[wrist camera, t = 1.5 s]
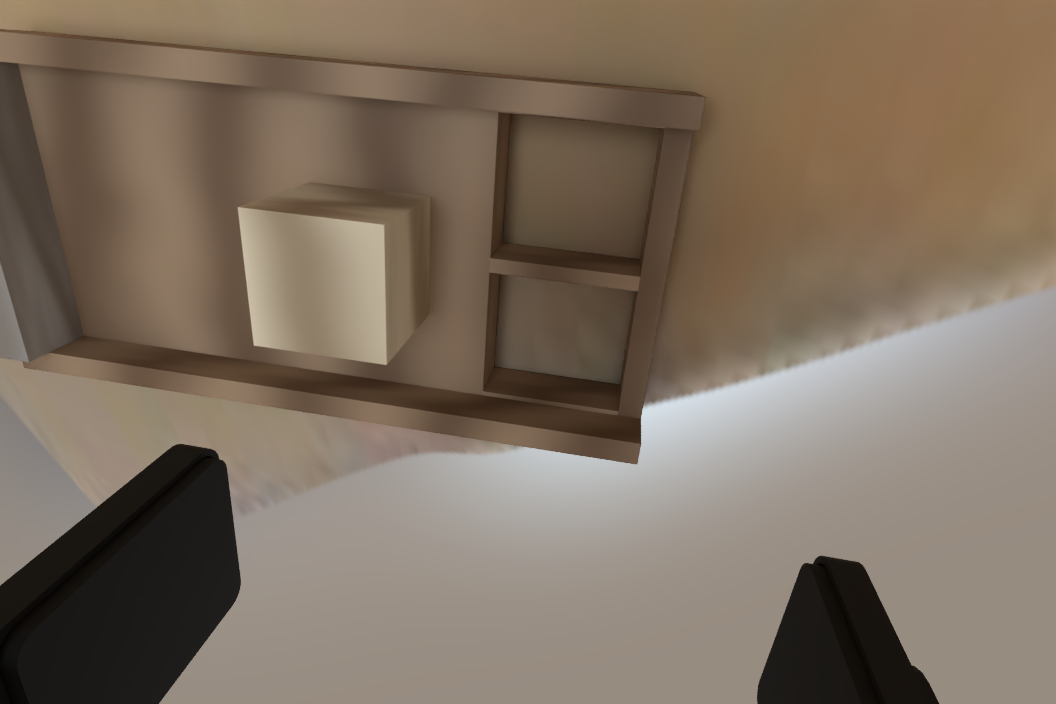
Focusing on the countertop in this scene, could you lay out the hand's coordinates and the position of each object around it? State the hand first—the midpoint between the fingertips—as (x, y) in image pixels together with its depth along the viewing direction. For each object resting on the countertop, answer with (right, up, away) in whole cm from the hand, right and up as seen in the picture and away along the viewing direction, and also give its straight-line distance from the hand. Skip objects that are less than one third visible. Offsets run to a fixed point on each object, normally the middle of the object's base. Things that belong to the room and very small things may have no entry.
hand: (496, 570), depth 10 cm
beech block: (-6, +8, +16) cm, 18 cm away
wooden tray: (-8, +9, +18) cm, 22 cm away
